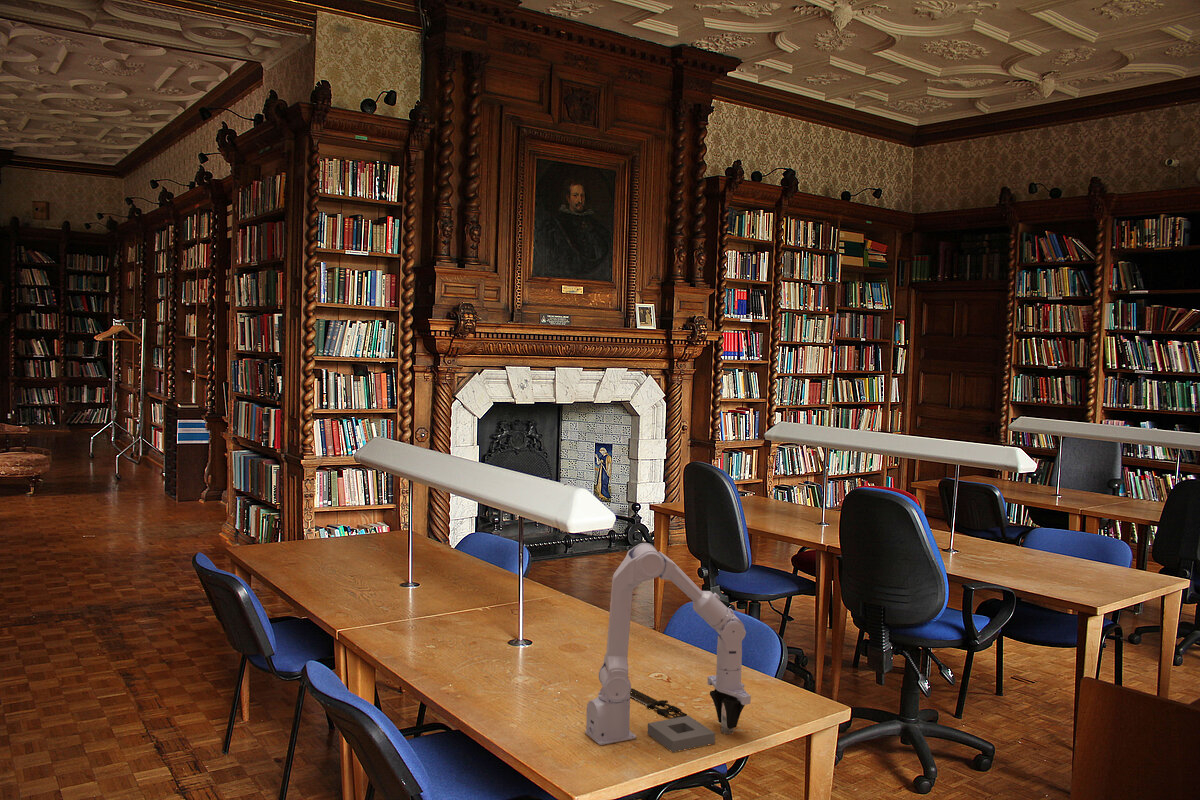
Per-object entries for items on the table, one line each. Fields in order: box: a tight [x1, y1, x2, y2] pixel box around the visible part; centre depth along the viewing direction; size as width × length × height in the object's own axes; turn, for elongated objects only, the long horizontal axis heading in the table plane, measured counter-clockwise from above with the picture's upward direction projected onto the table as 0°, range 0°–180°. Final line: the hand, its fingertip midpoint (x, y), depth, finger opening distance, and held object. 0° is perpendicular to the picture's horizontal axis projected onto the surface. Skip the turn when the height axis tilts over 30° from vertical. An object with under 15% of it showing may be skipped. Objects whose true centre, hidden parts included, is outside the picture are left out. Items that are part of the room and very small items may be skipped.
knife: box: [630, 687, 688, 719], centre depth 231 cm, size 25×6×1 cm, turn 31°
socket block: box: [647, 715, 716, 753], centre depth 209 cm, size 11×11×2 cm
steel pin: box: [720, 701, 735, 735], centre depth 213 cm, size 3×3×7 cm
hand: (727, 724), depth 213 cm, fingers closed on steel pin, 3 cm apart
